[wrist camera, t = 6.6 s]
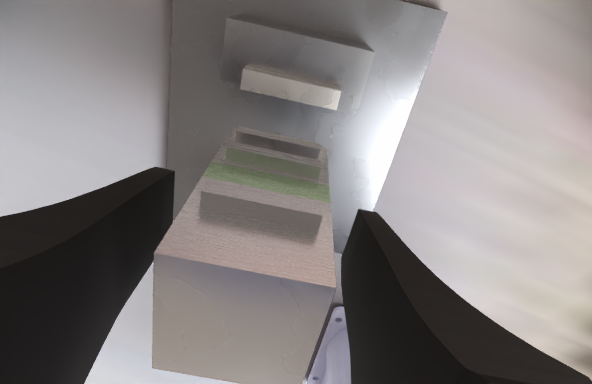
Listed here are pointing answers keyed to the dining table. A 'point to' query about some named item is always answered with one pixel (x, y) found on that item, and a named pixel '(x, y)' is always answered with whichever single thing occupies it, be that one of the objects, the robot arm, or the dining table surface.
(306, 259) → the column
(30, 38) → the dining table surface
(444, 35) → the dining table surface
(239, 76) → the stand
